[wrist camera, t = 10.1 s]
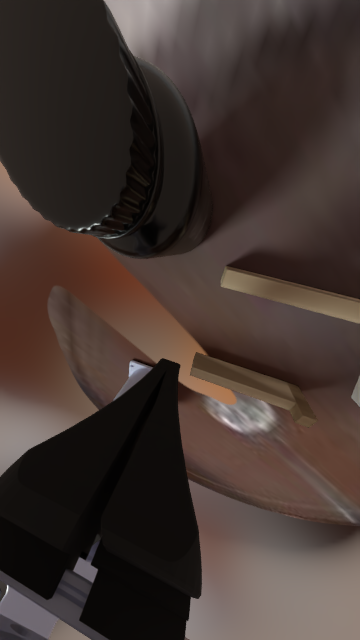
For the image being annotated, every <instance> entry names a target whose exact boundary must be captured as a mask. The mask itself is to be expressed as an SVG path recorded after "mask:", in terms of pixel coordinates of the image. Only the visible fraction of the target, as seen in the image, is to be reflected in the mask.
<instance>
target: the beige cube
mask: <svg viewBox="0 0 360 640" xmlns="http://www.w3.org/2000/svg"><path fill="white" fill-rule="evenodd" d="M351 398H352V399H353V400H354V401H355V402H356V403H357V405H358V406H359V407H360V376H359V379H358V381H357V384H356V386H355V389H354V391H353V394H352V396H351Z"/></svg>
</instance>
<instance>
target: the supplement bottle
mask: <svg viewBox="0 0 360 640" xmlns="http://www.w3.org/2000/svg"><path fill="white" fill-rule="evenodd" d="M0 161H1V163H2V164H3V166H4V167H5V169H6V170H7V172H8V174H9V176H10V179H11V181H12V182H13V183H14V184H15V185H16V186H17V188H18V190H19V192H20V193H21V195H22V196H23V197H24V198H25V199H26V200H27V201H28V202H29V203H30V205H31V206H32V208H33V209H34V210H36V211H38V212H39V213H40V214H41V215H42V216H43V218H44V219H46V220H49V221H51V222H52V223H53V224H54V225H55V226H57V227H59V228H64V229H66V230H68V231H70V232H74V233H82V234H89V235H93V236H95V237H97V238H98V239H99V240H100V241H101V242H103V243H104V244H105V245H106V246H107V247H109V248H110V249H112V250H113V251H115V252H117V253H119V254H121V255H124V256H127V257H130V258H137V259H148V258H156V257H163V256H171V255H178V254H183V253H186V252H189V251H191V250H192V249H194V248H195V247H196V246H198V245H199V244H200V242H201V241H202V240H203V239H204V237H205V235H206V234H207V232H208V229H209V227H210V223H211V219H212V211H213V204H212V196H211V191H210V186H209V182H208V177H207V173H206V168H205V163H204V159H203V154H202V150H201V145H200V141H199V137H198V133H197V130H196V127H195V123H194V120H193V118H192V115H191V112H190V110H189V108H188V106H187V104H186V102H185V99H184V98H183V96H182V95H181V93H180V91H179V90H178V88H177V87H176V86H175V84H174V83H173V82H172V81H171V79H170V78H169V77H168V76H167V75H166V74H165V73H164V72H163V71H161V70H160V69H159V68H157V67H156V66H155V65H153V64H152V63H150V62H148V61H146V60H144V59H142V58H139V57H136V56H133V54H132V53H131V51H130V50H129V48H128V46H127V44H126V42H125V40H124V38H123V36H122V34H121V31H120V29H119V27H118V25H117V23H116V21H115V19H114V17H113V15H112V13H111V11H110V10H109V8H108V6H107V5H106V3H105V2H104V1H103V0H0Z"/></svg>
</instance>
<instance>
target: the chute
mask: <svg viewBox="0 0 360 640" xmlns="http://www.w3.org/2000/svg"><path fill="white" fill-rule="evenodd" d="M221 287H225V288H229V289H233V290H236V291H240V292H244V293H248V294H251V295H255V296H259V297H262V298H266V299H270V300H274V301H277V302H281V303H285V304H289V305H292V306H296V307H300V308H304V309H307V310H311V311H315V312H318V313H322V314H326V315H330V316H333V317H337V318H341V319H345V320H348V321H352V322H356V323H360V299H357V298H353V297H349V296H345V295H341V294H337V293H333V292H329V291H325V290H321V289H317V288H313V287H309V286H305V285H301V284H296V283H292V282H288V281H284V280H280V279H276V278H272V277H268V276H264V275H260V274H256V273H252V272H248V271H244V270H240V269H236V268H232V267H228V266H225V269H224V272H223V275H222V278H221ZM190 375H192V376H194V377H197V378H200V379H202V380H205V381H208V382H211V383H214V384H216V385H219V386H222V387H225V388H228V389H231V390H233V391H236V392H239V393H242V394H245V395H247V396H250V397H253V398H256V399H259V400H262V401H264V402H267V403H270V404H273V405H276V406H279V407H281V408H284V409H287V410H289V411H290V413H291V415H292V417H293V420H294V422H295V423H297V424H300V425H303V426H305V427H308V428H309V427H311V426H312V425H313V424H315V423H316V422H317V421H318V420H317V418H316V416H315V415H314V413H313V411H312V409H311V408H310V406H309V404H308V402H307V401H306V399H305V397H304V395H303V394H302V392H301V390H300V388H299V387H298V386H297V385H294V384H290V383H287V382H284V381H281V380H278V379H275V378H272V377H269V376H266V375H263V374H260V373H257V372H254V371H251V370H248V369H245V368H242V367H239V366H236V365H233V364H230V363H227V362H224V361H221V360H218V359H215V358H212V357H209V356H206V355H203V354H200V353H197V352H196V354H195V357H194V360H193V364H192V368H191V373H190Z"/></svg>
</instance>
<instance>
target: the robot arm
mask: <svg viewBox="0 0 360 640" xmlns="http://www.w3.org/2000/svg"><path fill="white" fill-rule="evenodd" d="M179 369H180V364H178V363H175V362H172V361H169V360H166V359H163V358H162V359H161V360H160V361H159V362H158V363H157V364H156V365H155V366H154V367H150V366H148V365H145V364H142V363H139V362H136V361H134V360H131V361H130V369H129V379H128V380H127V382H126V383H125V384H124V386H123V387H122V389H121V390H120V391H119V393H118V394H117V396H116V397H115V399H114V400H113V401H112V402H111V403H110V404H108V405H107V406H105V407H104V408H102V409H101V410H99V411H97V412H96V413H95V414H93V415H91V416H89V417H88V418H86V419H84V420H83V421H81V422H79V423H77V424H76V425H74V426H73V427H71V428H69V429H67V430H65V431H63V432H61V433H60V434H58V435H56V436H54V437H52V438H50V439H48V440H46V441H45V442H42V443H41V444H38V445H36V446H35V447H33V448H31V449H29V450H28V451H27V452H26V453H24V454H23V455H22V456H21V457H20V458H19V459H18V460H17V461H16V462H15V463H14V464H13V465H11V466H10V467H9V468H8V469H7V470H6V472H4V473H3V474H2V475H1V477H0V581H2V582H3V583H5V584H6V585H7V591H6V594H5V596H4V597H3V599H2V601H1V602H0V640H48V639H49V636H50V634H51V632H52V630H53V628H54V626H55V624H56V622H57V621H58V620H59V619H61V620H62V621H64V622H65V623H67V624H68V625H70V626H71V627H73V628H74V629H76V630H77V631H79V632H81V633H82V634H84V635H85V636H87V637H88V638H90V639H91V640H189V639H187V638H186V637H185V630H186V620H187V621H188V619H189V611H190V599H191V597H193V598H196V599H199V597H200V596H201V587H202V569H201V552H200V542H199V530H198V525H197V521H196V516H195V512H194V507H193V502H192V498H191V493H190V488H189V483H188V478H187V472H186V467H185V460H184V454H183V448H182V442H181V434H180V425H179V414H178V374H179ZM1 593H2V591H1V590H0V597H1Z"/></svg>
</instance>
